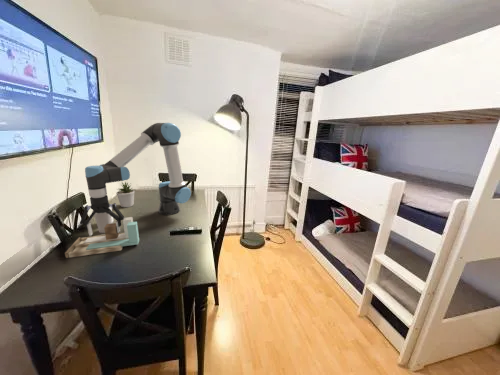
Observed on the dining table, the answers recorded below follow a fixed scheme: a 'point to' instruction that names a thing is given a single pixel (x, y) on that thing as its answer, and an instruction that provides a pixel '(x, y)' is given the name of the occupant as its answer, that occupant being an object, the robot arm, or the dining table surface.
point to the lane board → (80, 249)
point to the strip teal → (132, 240)
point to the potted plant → (126, 196)
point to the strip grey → (120, 236)
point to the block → (111, 231)
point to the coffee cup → (102, 220)
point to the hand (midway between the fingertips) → (105, 233)
